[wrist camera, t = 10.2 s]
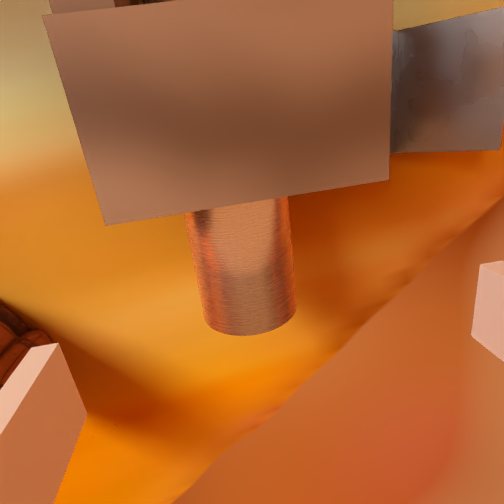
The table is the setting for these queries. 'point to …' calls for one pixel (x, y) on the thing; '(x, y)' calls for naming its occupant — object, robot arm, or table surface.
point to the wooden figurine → (16, 342)
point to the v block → (448, 85)
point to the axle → (243, 263)
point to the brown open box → (224, 98)
